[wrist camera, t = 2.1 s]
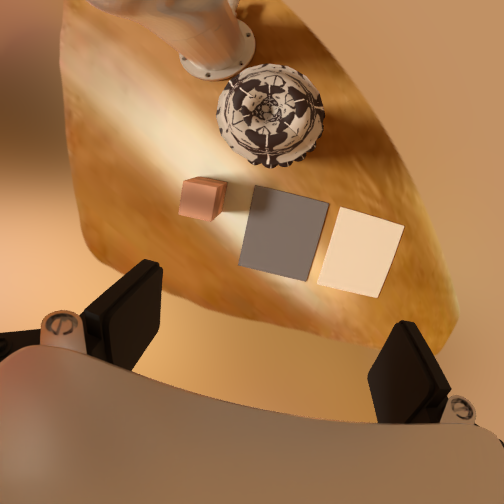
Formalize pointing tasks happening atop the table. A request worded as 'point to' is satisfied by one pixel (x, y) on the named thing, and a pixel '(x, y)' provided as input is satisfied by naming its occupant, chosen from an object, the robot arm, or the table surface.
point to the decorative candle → (270, 115)
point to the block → (202, 198)
